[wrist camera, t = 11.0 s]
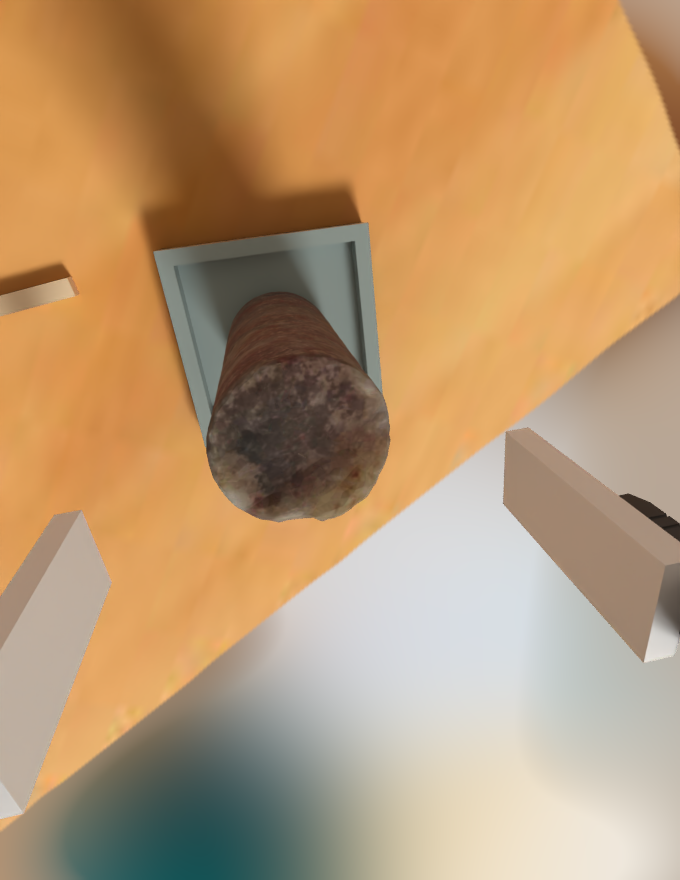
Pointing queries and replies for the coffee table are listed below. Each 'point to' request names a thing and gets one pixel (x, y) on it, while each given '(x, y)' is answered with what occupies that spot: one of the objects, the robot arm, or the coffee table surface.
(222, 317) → the dish
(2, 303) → the beige wooden bar
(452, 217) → the coffee table surface
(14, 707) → the robot arm
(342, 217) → the coffee table surface
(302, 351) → the dark brown cylinder
